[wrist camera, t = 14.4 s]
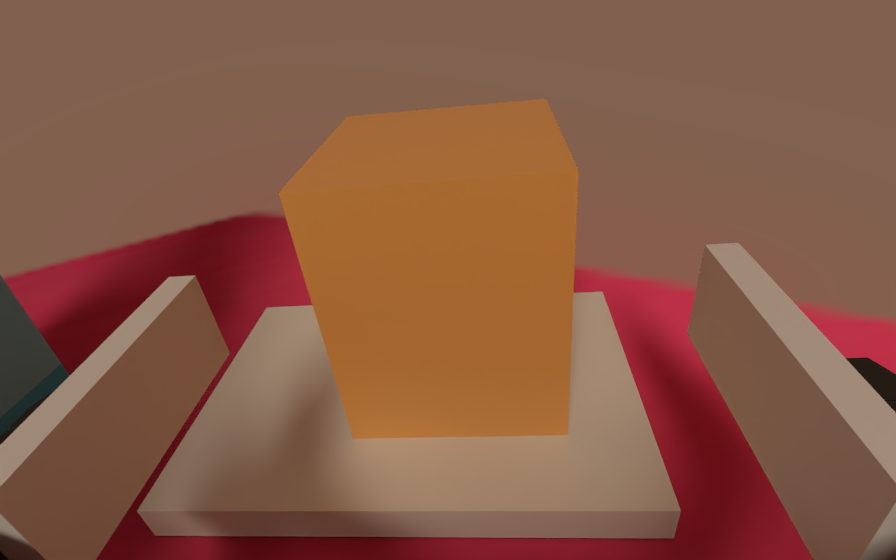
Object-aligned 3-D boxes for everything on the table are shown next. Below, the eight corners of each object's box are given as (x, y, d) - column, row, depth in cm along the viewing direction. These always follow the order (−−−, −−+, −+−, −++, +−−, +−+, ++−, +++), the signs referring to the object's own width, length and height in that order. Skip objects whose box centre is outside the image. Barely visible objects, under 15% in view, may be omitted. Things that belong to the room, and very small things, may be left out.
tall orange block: (353, 438, 19) (278, 192, 13) (388, 313, 25) (347, 116, 20) (567, 434, 18) (578, 170, 12) (545, 306, 25) (545, 98, 19)
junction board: (154, 535, 18) (33, 371, 14) (274, 329, 28) (226, 197, 24) (673, 538, 16) (722, 347, 12) (600, 315, 26) (612, 169, 22)
